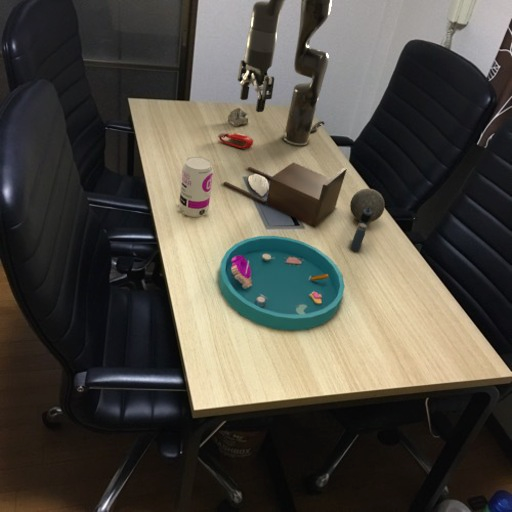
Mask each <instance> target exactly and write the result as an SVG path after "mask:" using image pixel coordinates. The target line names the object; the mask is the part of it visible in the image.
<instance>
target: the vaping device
mask: <svg viewBox="0 0 512 512" xmlns="http://www.w3.org/2000/svg"><path fill="white" fill-rule="evenodd" d="M370 210H371V209H370V208H367V209H364V210H363V213H362V216H361V219H360V221H359V222H358V225H357V228H356V230H355V232H354V235H353V238H352V241H351V244H350V250H351V251H353V252H355V253H356V252H359V251H360V249H361V247H362V245H363V241H364V238H365V235H366V231H367V229H368V226H369V223H370V222H369V220H370V217H371V214H372V212H371V211H370Z"/></svg>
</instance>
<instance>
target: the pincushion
mask: <svg viewBox="0 0 512 512" xmlns="http://www.w3.org/2000/svg"><path fill="white" fill-rule="evenodd" d="M257 170H258V171H260V170H259V169H257ZM253 172H254V171H253ZM253 172H252V173H253ZM264 173H265V172H263V174H264ZM267 175H268V174H267ZM267 175H266V176H267ZM247 181H248V183H249V186H250V187H251V189H252V190H253V191H255V193H257V194H258V195H259V196H261V197H264V195H265V194H266V193H268V191H269V186H270V183H269V180H268V179H266V178H265V177H262V176H260V175H258V174H255V173H253V174H251V175H249V176H248V180H247Z"/></svg>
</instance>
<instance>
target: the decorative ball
mask: <svg viewBox="0 0 512 512" xmlns="http://www.w3.org/2000/svg"><path fill="white" fill-rule="evenodd" d="M349 208H350V212H351V214H352V216H353V217H354V218H355V219H356V220H358V221H359V222H360V219H361V216H362V213H363V210H364V209H367V208H370V209H371V210H370V211H371V212H372V214H371V217H370V220H369V222H368V223H372V222H375V221H377V220H378V219H380V218H381V216H382V215H383V213H384V211H385V199H384V197H383V196H382V193H380V192H379V191H378V190H375V189H373V188H363V189H359V190H358V191H356V192H355V193H354V195H352V197H351V200H350V205H349Z"/></svg>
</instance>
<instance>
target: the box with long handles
mask: <svg viewBox="0 0 512 512" xmlns="http://www.w3.org/2000/svg"><path fill="white" fill-rule="evenodd" d="M258 170H259V169H256V168H253V167H252V166H248V167H247V171H248V172H250V173H252V174H258V175H260V176H262V177H265V178H266V179H267V181H269V189H268V191H267V196H266V200H265V199H264V198H262V197H259V196H258V195H255V194H253V193H252V192H249V191H247V190H244V189H243V188H240V187H238V186H236V185H234V184H232V183H230V182H227V181H224V182H223V186H224V187H226V188H228V189H230V190H232V191H234V192H236V193H239V194H241V195H243V196H245V197H248V198H250V199H251V200H253V201H256V202H258V203H259V204H262V205H267V206H268V207H271V208H272V209H275V210H277V211H279V212H281V213H282V214H286V215H287V216H289V217H292V218H293V219H296V220H298V221H300V222H302V223H304V224H307V225H309V226H311V227H313V228H317V226H318V225H319V224H320V223H321V222H322V221H323V220H325V219H326V218H327V217H328V216H329V215H330V214H331V213H332V212H333V211H334V210H335V209H336V206H337V202H338V199H339V197H340V193H341V190H342V186H343V183H344V179H345V176H346V173H347V167H342V168H341V169H340V170H339V171H338V172H336V173H334V175H333V176H331V177H329V176H326V175H324V174H321V173H319V172H317V171H314V170H312V169H310V168H308V167H305V166H303V165H301V164H298V163H296V162H292V163H290V164H288V165H287V166H286V167H284V168H283V169H281V170H280V171H278V172H277V173H275V174H274V175H272V176H271V175H269V174H268V173H265V172H264V171H261V170H259V171H258ZM253 171H254V172H253ZM263 173H264V174H263ZM266 175H267V176H266Z"/></svg>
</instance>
